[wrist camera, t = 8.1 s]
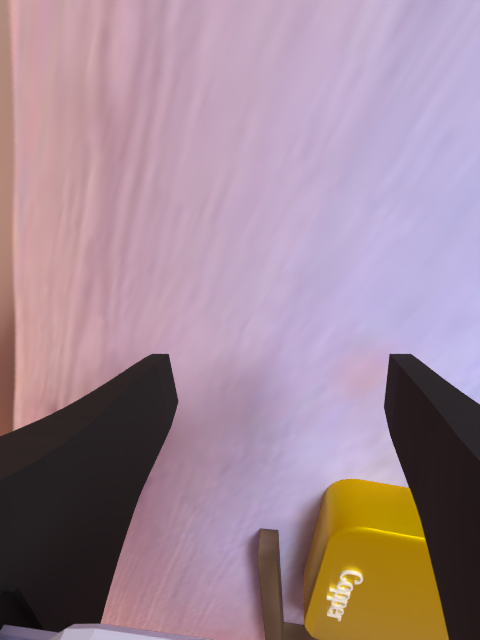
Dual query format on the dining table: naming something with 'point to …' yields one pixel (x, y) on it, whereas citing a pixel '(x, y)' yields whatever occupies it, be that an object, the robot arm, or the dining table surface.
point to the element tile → (370, 568)
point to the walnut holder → (274, 591)
